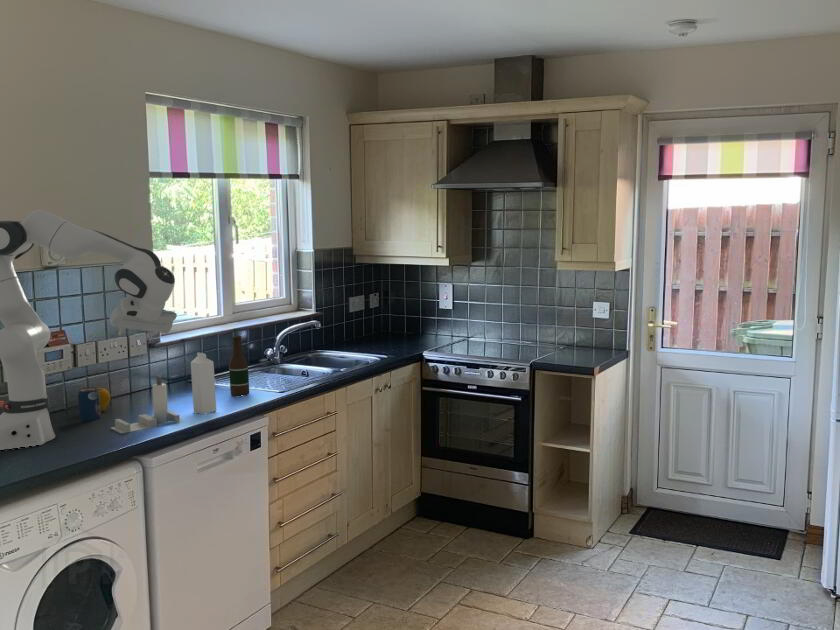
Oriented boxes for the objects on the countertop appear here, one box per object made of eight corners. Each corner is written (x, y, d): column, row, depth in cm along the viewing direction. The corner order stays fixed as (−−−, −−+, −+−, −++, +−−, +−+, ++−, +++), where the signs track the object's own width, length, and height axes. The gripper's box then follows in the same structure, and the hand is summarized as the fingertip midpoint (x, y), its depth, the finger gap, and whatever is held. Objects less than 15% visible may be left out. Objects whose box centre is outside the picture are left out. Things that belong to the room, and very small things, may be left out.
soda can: (102, 422, 282) (100, 389, 281) (81, 425, 279) (79, 392, 277) (99, 418, 288) (96, 386, 287) (78, 421, 285) (75, 388, 283)
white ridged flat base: (122, 438, 261) (121, 426, 261) (109, 431, 270) (108, 420, 269) (185, 425, 275) (185, 414, 275) (172, 419, 284) (171, 408, 283)
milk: (207, 409, 298) (204, 351, 296) (216, 411, 294) (213, 352, 292) (193, 412, 294) (189, 353, 291) (202, 414, 290) (198, 355, 287)
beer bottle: (236, 397, 316) (232, 338, 313) (226, 394, 322) (223, 336, 319) (253, 394, 321) (250, 335, 318) (243, 391, 327) (240, 333, 324)
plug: (157, 424, 272) (155, 378, 270) (152, 421, 275) (149, 376, 273) (170, 421, 275) (167, 376, 273) (164, 419, 278) (162, 374, 276)
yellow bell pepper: (116, 409, 302) (114, 386, 301) (98, 414, 294) (96, 391, 293) (100, 407, 306) (99, 384, 305) (82, 412, 298) (80, 389, 297)
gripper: (177, 305, 274) (162, 333, 281) (116, 296, 261) (103, 325, 268) (180, 318, 270) (165, 346, 277) (119, 310, 258) (105, 339, 265)
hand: (134, 336), depth 273 cm, fingers open, 8 cm apart
